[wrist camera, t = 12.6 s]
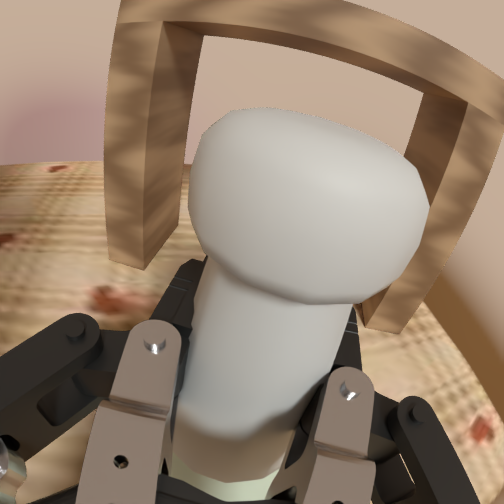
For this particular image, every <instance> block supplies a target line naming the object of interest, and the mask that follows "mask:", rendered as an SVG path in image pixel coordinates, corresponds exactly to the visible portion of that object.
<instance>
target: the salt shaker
mask: <svg viewBox="0 0 504 504" xmlns="http://www.w3.org/2000/svg"><path fill="white" fill-rule="evenodd" d="M429 208H430V206H429V202H428V199H427V195H426V192H425V189H424V187H423V184H422V181H421V178H420V176H419V173H418V171H417V168H416V167H414V166H413V165H412V164H411V163H410V162H409V161H408V160H407V159H405V158H404V157H403V156H402V155H401V154H400V153H399V152H397V151H396V150H394V149H393V148H391V147H390V146H388V145H387V144H385V143H383V142H381V141H379V140H377V139H375V138H373V137H371V136H369V135H367V134H365V133H363V132H361V131H358V130H356V129H353V128H350V127H347V126H344V125H341V124H339V123H336V122H333V121H330V120H327V119H324V118H321V117H317V116H312V115H307V114H303V113H298V112H294V111H289V110H282V109H276V108H250V109H241V110H233V111H230V112H229V113H227V114H226V115H225V116H223V117H222V118H221V119H219V120H218V121H217V122H215V123H214V124H213V125H211V127H209V128H208V130H206V132H204V133H203V134H202V137H201V139H200V142H199V146H198V148H197V152H196V155H195V158H194V161H193V164H192V167H191V170H190V178H189V193H188V210H189V214H190V218H191V222H192V225H193V228H194V230H195V233H196V235H197V237H198V240H199V242H200V244H201V247H202V249H203V252H204V253H205V254H206V255H207V256H208V259H207V262H206V265H205V267H204V270H203V273H202V276H201V279H200V282H199V285H198V288H197V291H196V294H195V297H194V315H193V319H192V323H191V325H192V328H193V330H192V332H191V334H190V336H189V341H190V345H189V351H188V357H187V363H186V369H185V375H184V381H183V387H182V389H181V391H180V398H179V405H178V412H177V419H176V426H175V434H174V442H173V452H174V453H175V454H176V455H177V456H178V458H179V459H180V460H181V461H182V462H184V463H185V464H186V465H187V466H188V467H189V468H190V469H191V470H192V471H193V472H195V473H198V474H201V475H204V476H206V477H209V478H212V479H215V480H218V481H221V482H224V483H233V482H243V481H251V480H259V479H263V478H265V477H267V476H268V475H270V474H272V473H273V472H275V471H276V470H278V469H280V467H281V464H282V461H283V458H284V455H285V452H286V449H287V446H288V443H289V440H290V437H291V434H292V431H293V429H294V427H295V426H296V424H297V423H298V421H299V419H301V417H302V415H303V413H304V411H305V409H306V408H307V406H308V404H309V403H310V401H311V399H312V398H313V396H314V394H315V393H316V391H317V389H318V387H319V386H320V384H323V383H325V382H326V380H327V378H328V375H329V373H330V370H331V367H332V365H333V362H334V359H335V357H336V354H337V351H338V348H339V345H340V342H341V340H342V337H343V334H344V331H345V328H346V325H347V322H348V318H349V315H350V312H351V309H352V306H353V304H359V303H361V302H363V301H365V300H366V299H368V298H370V297H372V296H373V295H375V294H377V293H378V292H380V291H382V290H383V289H385V288H387V287H388V286H389V285H390V284H392V283H393V282H394V281H395V280H396V279H397V278H399V277H400V276H401V274H402V273H403V271H404V270H405V268H406V266H407V265H408V263H409V262H410V260H411V258H412V257H413V255H414V253H415V252H416V250H417V248H418V247H419V244H420V241H421V238H422V234H423V231H424V227H425V224H426V220H427V216H428V212H429Z"/></svg>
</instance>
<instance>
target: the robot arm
mask: <svg viewBox="0 0 504 504" xmlns="http://www.w3.org/2000/svg"><path fill="white" fill-rule="evenodd" d="M207 259H208V256H207V255H206V257H205V259H204V261H203V262H202V261H198V260H195V259H191V260H189V261H187V262H186V263H184V264H183V265H181V266H180V268H179V270H178V271H177V273H176V275H175V277H174V278H173V280H172V281H171V283H170V285H169V286H168V288H167V290H166V291H165V293H164V295H163V296H162V298H161V300H160V302H159V303H158V305H157V307H156V308H155V310H154V312H153V314H152V315H151V317H150V319H149V320H146V321H143V322H141V323H139V324H137V325H136V326H135V327H133V329H132V330H130V331H113V330H101V329H99V325H98V323H97V322H96V320H95V319H93V318H92V317H91V316H89V315H86V314H82V313H73V314H69V315H66V316H65V317H63V318H61V319H59V320H58V321H56V322H54V323H53V324H51V325H50V326H48V327H46V328H45V329H43V330H42V331H40V332H38V333H37V334H35V335H34V336H32V337H30V338H29V339H27V340H26V341H24V342H22V343H21V344H19V345H18V346H16V347H15V348H13V349H12V350H10V351H8V352H7V353H5V354H4V355H2V356H1V357H0V504H16V501H15V497H16V492H17V490H18V488H19V487H20V486H21V485H22V484H23V483H24V481H25V480H26V478H27V474H26V466H25V462H26V461H27V460H28V459H30V458H31V457H32V456H34V455H35V454H36V453H38V452H39V451H40V450H42V449H43V448H45V447H46V446H47V445H49V444H50V443H51V442H53V441H54V440H55V439H57V438H58V437H59V436H61V435H62V434H63V433H65V432H66V431H67V430H69V429H70V428H71V427H72V426H74V425H75V424H76V423H78V422H79V421H80V420H82V419H83V418H84V417H86V416H87V415H88V414H89V413H91V412H92V411H93V410H95V409H96V408H97V407H98V409H97V411H96V415H95V418H94V422H93V426H92V430H91V433H90V437H89V441H88V445H87V449H86V454H85V458H84V462H83V467H82V472H81V476H80V481H79V483H78V484H76V485H74V486H72V487H69V488H67V489H64V490H62V491H60V492H57V493H55V494H52V495H50V496H47V497H44V498H42V499H39V500H36V501H33V502H31V503H28V504H370V500H371V501H372V503H373V504H480V502H479V500H478V497H477V495H476V493H475V491H474V488H473V486H472V484H471V482H470V480H469V478H468V476H467V474H466V472H465V470H464V468H463V465H462V463H461V461H460V459H459V457H458V456H457V454H456V452H455V450H454V448H453V446H452V444H451V442H450V440H449V438H448V436H447V434H446V433H445V431H444V429H443V427H442V425H441V423H440V422H439V420H438V418H437V416H436V414H435V413H434V411H433V409H432V407H431V406H430V405H429V403H428V402H426V401H425V400H424V399H422V398H420V397H417V396H408V397H406V398H404V399H403V400H402V401H401V402H400V403H399V402H396V401H394V400H392V399H389V398H387V397H385V396H383V395H381V394H379V393H377V392H376V391H374V386H373V384H372V382H371V380H370V379H369V377H368V376H367V375H366V374H365V373H363V372H362V363H361V353H360V344H359V335H358V327H357V325H356V324H357V319H356V312H355V309H354V308H353V306H352V309H351V312H350V315H349V318H348V322H347V325H346V328H345V331H344V334H343V337H342V340H341V342H340V345H339V348H338V351H337V354H336V357H335V359H334V362H333V365H332V367H331V370H330V373H329V375H328V378H327V380H326V382H325V383H323V384H320V386H319V387H318V389H317V391H316V393H315V394H314V396H313V398H312V399H311V401H310V403H309V404H308V406H307V408H306V409H305V411H304V413H303V415H302V417H301V419H299V421H298V423H297V424H296V426H295V427H294V429H293V431H292V434H291V437H290V440H289V443H288V446H287V449H286V452H285V455H284V458H283V461H282V464H281V467H280V469H279V471H278V473H277V475H276V476H275V478H274V479H273V481H272V483H271V485H270V487H269V489H268V492H267V494H266V497H265V499H264V500H255V501H233V502H229V501H223V500H220V499H218V498H216V497H214V496H212V495H210V494H208V493H206V492H204V491H202V490H200V489H198V488H196V487H194V486H192V485H190V484H188V483H187V482H185V481H183V480H180V479H176V478H173V477H171V468H172V456H173V442H174V434H175V426H176V419H177V412H178V405H179V398H180V391H181V389H182V387H183V381H184V375H185V369H186V363H187V357H188V351H189V345H190V341H189V336H190V334H191V332H192V330H193V328H192V325H191V323H192V319H193V315H194V297H195V294H196V291H197V288H198V285H199V282H200V279H201V276H202V273H203V270H204V267H205V265H206V262H207ZM399 454H401V456H402V458H403V460H404V462H405V464H406V466H407V468H408V471H409V473H410V475H411V477H412V479H413V481H414V483H415V484H414V483H413V482H412V480H411V478H410V476H409V474H408V472H407V469H406V467H405V465H404V463H403V461H402V459H401V457H400V455H399ZM119 466H120V469H119Z"/></svg>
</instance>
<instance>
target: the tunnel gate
mask: <svg viewBox="0 0 504 504" xmlns="http://www.w3.org/2000/svg"><path fill="white" fill-rule="evenodd" d="M204 35H208V36H219V37H228V38H237V39H244V40H251V41H257V42H264V43H269V44H274V45H279V46H284V47H289V48H294V49H298V50H302V51H306V52H310V53H315V54H318V55H322V56H326V57H329V58H333V59H336V60H339V61H343V62H346V63H349V64H352V65H355V66H358V67H361V68H364V69H367V70H370V71H372V72H375V73H378V74H380V75H383V76H386V77H388V78H391V79H393V80H396V81H398V82H401V83H403V84H405V85H408V86H410V87H412V88H414V89H416V90H418V91H421V92H423V93H424V94H423V97H422V101H421V105H420V108H419V111H418V114H417V118H416V121H415V124H414V127H413V130H412V133H411V136H410V139H409V143H408V145H407V148H406V151H405V154H404V158H405V159H407V160H408V161H409V162H410V163H411V164H412V165H413V166H414V167H416V168H417V171H418V173H419V176H420V178H421V181H422V184H423V187H424V189H425V192H426V195H427V199H428V202H429V206H430V208H429V212H428V216H427V220H426V224H425V227H424V231H423V234H422V238H421V241H420V244H419V247H418V248H417V250H416V252H415V253H414V255H413V257H412V258H411V260H410V262H409V263H408V265H407V266H406V268H405V270H404V271H403V273H402V274H401V276H400V277H399V278H397V279H396V280H395V281H394V282H393V283H392V284H390V285H389V286H388V287H387V288H385V289H383V290H382V291H380V292H378V293H377V294H375V295H373V296H372V297H370V298H368V299H366V300H365V301H363V302H361V304H362V310H363V316H364V323H365V327H366V328H370V329H375V330H380V331H385V332H390V333H395V334H400V332H401V331H402V330H403V328H404V327H405V326H406V324H407V323H408V321H409V320H410V319H411V317H412V316H413V314H414V313H415V311H416V310H417V308H418V307H419V305H420V304H421V302H422V301H423V299H424V298H425V296H426V295H427V293H428V292H429V290H430V289H431V287H432V285H433V284H434V282H435V280H436V279H437V277H438V275H439V274H440V272H441V271H442V269H443V267H444V265H445V264H446V262H447V260H448V258H449V257H450V255H451V253H452V251H453V249H454V247H455V246H456V244H457V242H458V240H459V238H460V236H461V234H462V232H463V230H464V228H465V226H466V225H467V222H468V220H469V218H470V216H471V214H472V212H473V210H474V208H475V206H476V203H477V201H478V199H479V197H480V194H481V192H482V190H483V187H484V185H485V183H486V180H487V177H488V175H489V173H490V170H491V167H492V165H493V162H494V159H495V157H496V154H497V151H498V148H499V145H500V142H501V139H502V136H503V133H504V80H503V79H502V78H501V77H499V76H498V75H496V74H495V73H494V72H492V71H491V70H489V69H488V68H486V67H484V66H483V65H482V64H480V63H479V62H477V61H476V60H474V59H473V58H471V57H469V56H468V55H466V54H465V53H463V52H461V51H459V50H458V49H456V48H454V47H453V46H450V45H449V44H447V43H445V42H443V41H442V40H439V39H438V38H436V37H434V36H432V35H430V34H428V33H426V32H424V31H422V30H420V29H417V28H415V27H413V26H411V25H409V24H406V23H404V22H402V21H400V20H397V19H394V18H392V17H390V16H387V15H385V14H382V13H379V12H377V11H374V10H371V9H368V8H365V7H362V6H359V5H356V4H353V3H350V2H346V1H343V0H121V3H120V8H119V12H118V17H117V23H116V28H115V33H114V40H113V45H112V52H111V59H110V67H109V75H108V86H107V97H106V109H105V128H104V197H105V216H106V230H107V241H108V251H109V260H112V261H115V262H119V263H122V264H125V265H128V266H131V267H134V268H138V269H141V270H145V268H146V267H147V266H148V264H149V263H150V262H151V260H152V259H153V257H154V256H155V255H156V253H157V252H158V251H159V249H160V248H161V247H162V245H163V244H164V243H165V242H166V240H167V239H168V238H169V236H170V235H171V234H172V232H173V231H174V230H175V229H176V227H177V226H178V219H179V207H180V195H181V185H182V175H183V166H184V156H185V148H186V139H187V131H188V125H189V118H190V110H191V104H192V98H193V92H194V86H195V80H196V74H197V68H198V63H199V57H200V52H201V47H202V42H203V37H204Z"/></svg>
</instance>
